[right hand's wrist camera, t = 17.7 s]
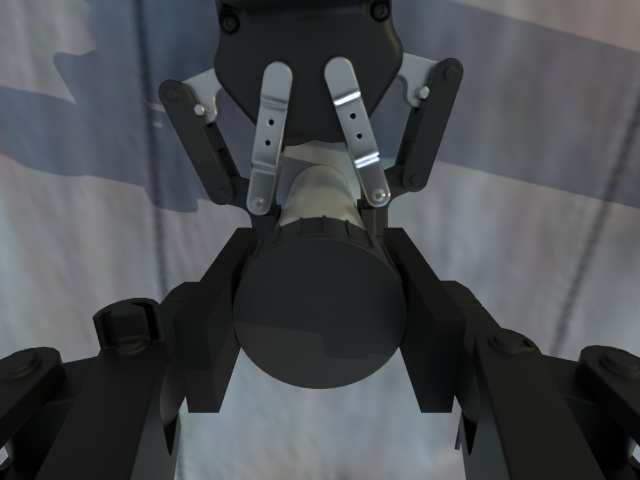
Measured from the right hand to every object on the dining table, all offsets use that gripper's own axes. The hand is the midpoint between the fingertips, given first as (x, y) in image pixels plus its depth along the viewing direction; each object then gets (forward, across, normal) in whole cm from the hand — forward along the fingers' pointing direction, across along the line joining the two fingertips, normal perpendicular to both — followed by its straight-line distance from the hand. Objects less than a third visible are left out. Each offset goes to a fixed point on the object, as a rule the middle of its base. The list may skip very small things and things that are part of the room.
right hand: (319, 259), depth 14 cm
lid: (-4, 0, 0) cm, 4 cm away
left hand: (+5, 0, -3) cm, 5 cm away
